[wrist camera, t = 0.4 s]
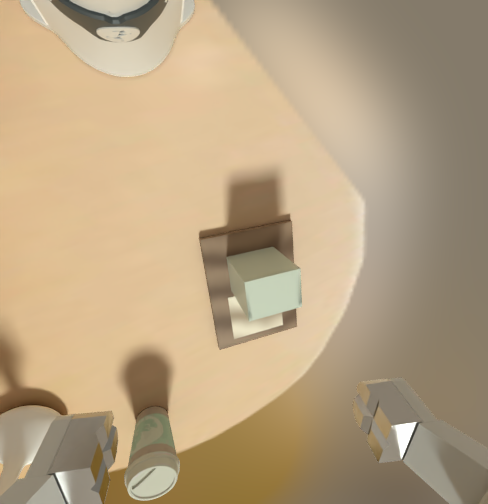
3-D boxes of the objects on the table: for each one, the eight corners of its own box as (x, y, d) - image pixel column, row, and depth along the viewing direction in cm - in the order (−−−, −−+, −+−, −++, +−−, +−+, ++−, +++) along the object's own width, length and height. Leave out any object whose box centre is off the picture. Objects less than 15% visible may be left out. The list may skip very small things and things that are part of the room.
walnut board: (199, 238, 46) (200, 240, 45) (289, 220, 50) (292, 221, 49) (218, 346, 54) (219, 350, 53) (294, 323, 58) (297, 326, 57)
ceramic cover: (226, 256, 47) (244, 282, 38) (272, 246, 49) (300, 268, 40) (231, 290, 50) (249, 321, 41) (275, 279, 52) (301, 306, 43)
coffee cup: (169, 394, 54) (174, 455, 44) (179, 424, 58) (185, 488, 47) (122, 410, 52) (116, 478, 42) (135, 441, 56) (132, 511, 45)
